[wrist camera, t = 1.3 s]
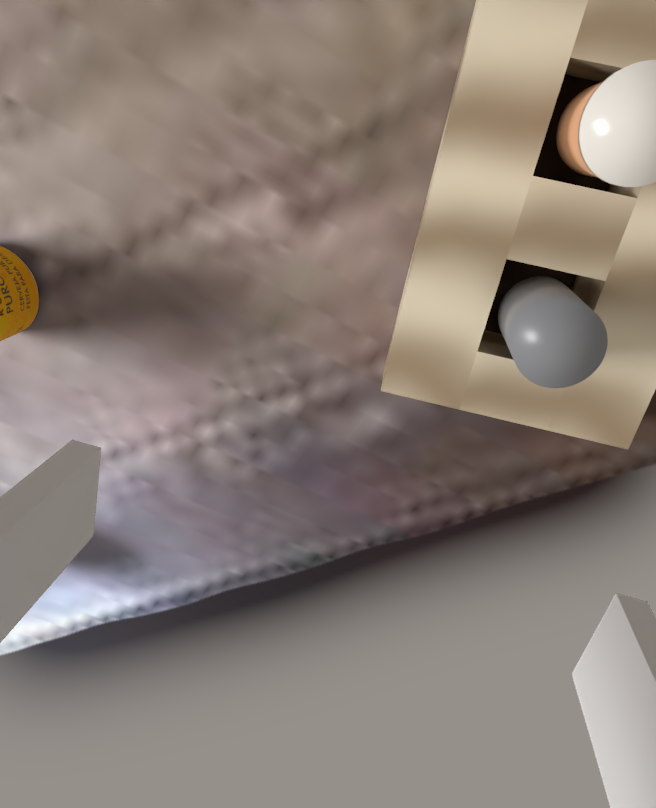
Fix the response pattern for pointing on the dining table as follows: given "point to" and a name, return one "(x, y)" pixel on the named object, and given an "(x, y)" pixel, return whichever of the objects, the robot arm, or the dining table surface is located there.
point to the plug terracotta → (613, 128)
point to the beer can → (16, 295)
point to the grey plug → (551, 332)
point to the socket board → (530, 227)
